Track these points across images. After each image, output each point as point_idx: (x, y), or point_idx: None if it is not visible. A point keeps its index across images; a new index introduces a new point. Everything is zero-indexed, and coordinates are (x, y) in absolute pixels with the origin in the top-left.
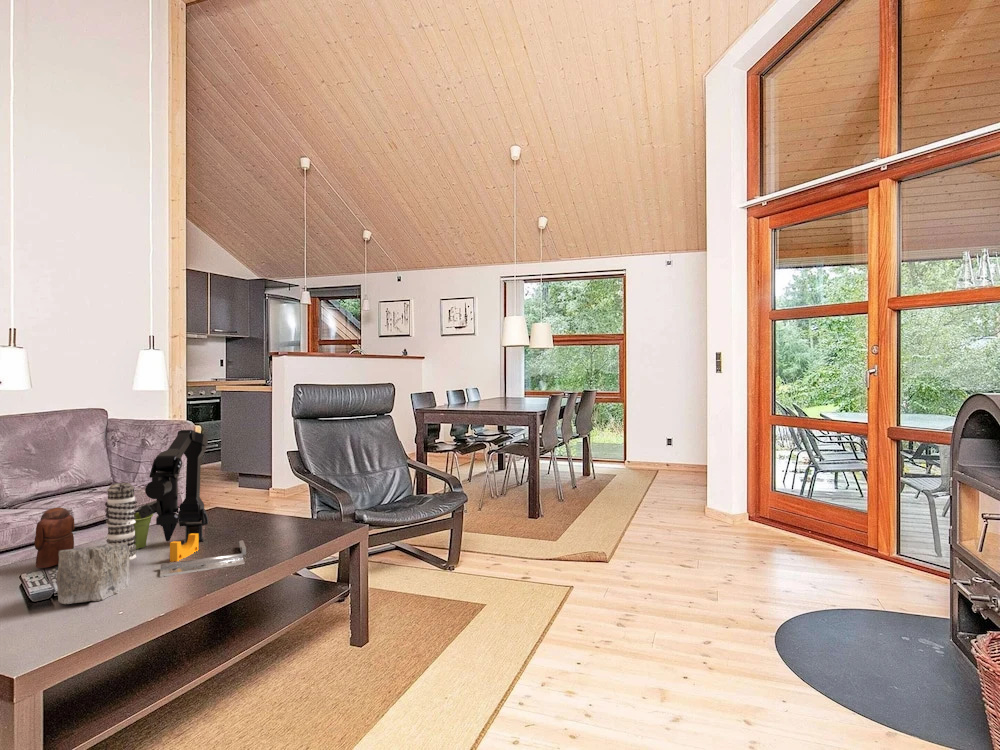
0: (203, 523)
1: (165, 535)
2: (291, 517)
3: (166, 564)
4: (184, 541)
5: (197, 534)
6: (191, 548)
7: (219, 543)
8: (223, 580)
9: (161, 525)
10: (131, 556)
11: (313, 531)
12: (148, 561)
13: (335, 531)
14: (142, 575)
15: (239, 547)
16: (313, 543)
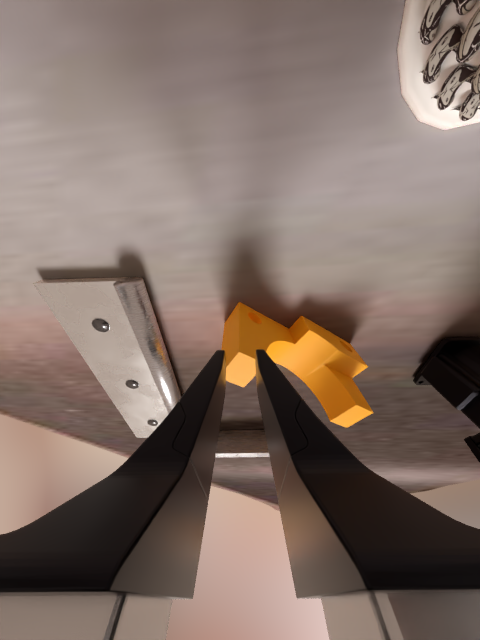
0: (472, 449)
1: (197, 380)
2: (456, 483)
3: (122, 305)
4: (474, 340)
5: (340, 423)
6: (295, 371)
7: None
8: (30, 405)
9: (91, 492)
10: (437, 92)
11: None
12: (293, 217)
13: None
14: (64, 207)
15: None
16: (246, 486)
